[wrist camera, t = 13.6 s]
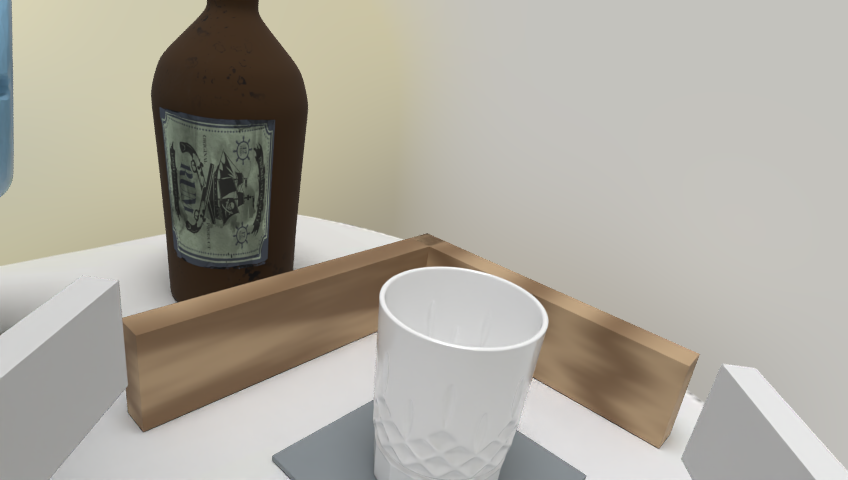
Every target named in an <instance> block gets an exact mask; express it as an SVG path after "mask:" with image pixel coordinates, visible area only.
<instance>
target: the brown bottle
mask: <svg viewBox="0 0 848 480" xmlns="http://www.w3.org/2000/svg"><path fill="white" fill-rule="evenodd" d="M258 2H259V0H207V6H206V8H205V10H204V11H203V13H202V14H201V15H200V16H199V17H198V18H197V19H196V21H194V22H193V24H191V25H190V26H189V27H188V28H187V29H186V30H185V31H184V32H183V33H182V34H181V35H180V36H179V37H178V38H177V39H176V40H175V41H174V42H173V43H172V44H171V45H170V46H169V47H168V48H167V50H166V51H165V52H164V53H163V55H162V56H161V58H160V60H159V62H158V65H157V68H156V71H155V74H154V78H153V83H152V90H151V98H152V110H153V118H154V127H155V135H156V144H157V152H158V161H159V170H160V179H161V189H162V199H163V208H164V217H165V228H166V239H167V251H168V263H169V276H170V287H171V292H172V295H173V297H174V298H175V299H176V300H177V301H178V302H182V301H185V300H189V299H192V298H196V297H200V296H203V295H207V294H210V293H214V292H218V291H221V290H225V289H228V288H232V287H236V286H239V285H243V284H247V283H250V282H254V281H257V280H261V279H265V278H268V277H272V276H275V275H279V274H283V273H286V272H290V271H293V262H294V249H295V235H296V224H297V213H298V203H299V192H300V181H301V171H302V162H303V152H304V143H305V134H306V124H307V114H308V102H307V95H306V90H305V85H304V82H303V78H302V75H301V73H300V71H299V69H298V67H297V66H296V64H295V63H294V61H293V60H292V59H291V57H290V56H289V55H288V53H287V52H286V51H285V50H284V48H283V47H282V46H281V44H280V43H279V42H278V40H277V39H276V38H275V37H274V35H273V34H272V33H271V31H270V30H269V29H268V27H267V26H266V25H265V23H264V22H263V20H262V19H261V17H260V15H259V12H258Z"/></svg>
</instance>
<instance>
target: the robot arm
mask: <svg viewBox="0 0 848 480" xmlns="http://www.w3.org/2000/svg"><path fill="white" fill-rule="evenodd" d="M13 144H14V142H13V59H12V2H11V0H0V197H1V196H2V195H3V194H4V193H5V192H6V191H7V190H8V188H9V187H10V185H11V182H12V179H13V155H14V151H13V150H14V149H13ZM127 386H128V380H127V369H126V357H125V345H124V334H123V322H122V311H121V299H120V288H119V280H113V279H105V278H98V277H91V276H84V275H82V276H81V277H79V278H78V279H77V280H75V281H74V282H73V283H71V284H70V285H68V286H67V287H66V288H64V289H63V290H62V291H60V292H59V293H57V294H56V295H55V296H53V297H52V298H51V299H49V300H48V301H47V302H45V303H44V304H42V305H41V306H40V307H38V308H37V309H36V310H34V311H33V312H31V313H30V314H29V315H27V316H26V317H25V318H23V319H22V320H20V321H19V322H18V323H16V324H15V325H14V326H12V327H11V328H10V329H8V330H7V331H5V332H4V333H3V334H1V335H0V480H49V479H50V478H51V477H52V475H53V474H54V473H55V472H56V471H57V469H58V468H59V467H60V466H61V465H62V463H63V462H64V461H65V460H66V459H67V457H68V456H69V455H70V454H71V453H72V452H73V450H74V449H75V448H76V447H77V446H78V444H79V443H80V442H81V441H82V440H83V438H84V437H85V436H86V435H87V434H88V432H89V431H90V430H91V429H92V428H93V427H94V425H95V424H96V423H97V422H98V421H99V419H100V418H101V417H102V416H103V415H104V413H105V412H106V411H107V410H108V409H109V407H110V406H111V405H112V404H113V403H114V402H115V400H116V399H117V398H118V397H119V396H120V394H121V393H122V392H123V391H124V390H125V388H126V387H127ZM681 460H682V461H683V463H684V465H685V467H686V469H687V471H688V472H689V474H690V476H691V478H692V480H848V471H847V470H846V469H845V468H844V466H843V465H842V464H841V463H840V462H839V461H838V460H837V458H835V456H834V455H833V454H832V453H831V452H830V451H829V450H828V448H827V447H826V446H825V445H824V444H823V443H822V442H821V441H820V440H819V438H818V437H817V436H816V435H815V434H814V433H813V432H812V430H811V429H810V428H809V427H808V426H807V425H806V424H805V423H804V422H803V420H802V419H801V418H800V417H799V416H798V415H797V414H796V413H795V412H794V410H793V409H792V408H791V407H790V406H789V405H788V404H787V402H786V401H785V400H784V399H783V398H782V397H781V396H780V395H779V394H778V393H777V391H776V390H775V389H774V388H773V387H772V386H771V385H770V383H768V381H767V380H766V379H765V378H764V377H763V376H762V375H761V373H760V372H759V371H758V370H757V369H756V368H750V367H743V366H736V365H728V364H722V365H721V367H720V369H719V372H718V374H717V376H716V379H715V381H714V383H713V386H712V388H711V391H710V393H709V395H708V397H707V400H706V402H705V404H704V407H703V409H702V411H701V413H700V416H699V418H698V420H697V423H696V425H695V427H694V430H693V432H692V434H691V437H690V439H689V441H688V444H687V446H686V448H685V451H684V453H683V455H682V458H681Z"/></svg>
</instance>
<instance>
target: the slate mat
mask: <svg viewBox="0 0 848 480" xmlns="http://www.w3.org/2000/svg"><path fill="white" fill-rule="evenodd" d="M373 412H374V400H372V401H370V402H369V403H367V404H365V405H363V406H361V407H360V408H358V409H356V410H354V411H352V412H350V413H349V414H347V415H345V416H343V417H341V418H340V419H338V420H336V421H334V422H332V423H331V424H329V425H327V426H325V427H323V428H322V429H320V430H318V431H316V432H314V433H313V434H311V435H309V436H307V437H305V438H304V439H302V440H300V441H298V442H296V443H294V444H293V445H291V446H289V447H287V448H285V449H284V450H282V451H280V452H278V453H276V454H275V455H273V456H272V460H273V461H274V462H275V463H276V464H277V465H278V466H279V467H280V469H281V470H282V471H283V472H284V473H285V474H286V475H287V476H288V477H289V478H290V479H291V480H377V479H376V477H375V475H374V456H373V449H374V435H375V427H374V424H373ZM585 478H586V475H585V474H583V473H582V472H580V471H579V470H577V469H576V468H574V467H573V466H571V465H570V464H568V463H566V462H565V461H563V460H562V459H560V458H559V457H557V456H556V455H554V454H553V453H551V452H550V451H548V450H546V449H545V448H543V447H542V446H540V445H539V444H537V443H536V442H534V441H533V440H531V439H529V438H528V437H526V436H525V435H523V434H522V433H520V432H519V431H517V430H516V432H515V435H514V437H513V441H512V445H511V448H510V450H509V451H508V452H507V454H506V457H505V460H504V462H503V464H502V468H501V471H500V475H499V478H498V480H585Z"/></svg>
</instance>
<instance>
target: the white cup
mask: <svg viewBox="0 0 848 480" xmlns="http://www.w3.org/2000/svg"><path fill="white" fill-rule="evenodd" d="M547 328H548V315H547V312H546V310H545V309H544V307H543V306H542V304H541V303H540V302H539V301H538V300H537V299H536V298H535V297H534V296H533V295H532V294H530V293H529V292H528V291H526V290H525V289H523V288H521V287H520V286H518V285H516V284H514V283H512V282H510V281H507V280H505V279H503V278H500V277H497V276H494V275H491V274H488V273H484V272H480V271H476V270H471V269H465V268H457V267H423V268H417V269H412V270H408V271H405V272H402V273H399V274H397V275H395V276H393V277H392V278H390V279H389V280H388V281H387V282H386V283H385V284H384V285H383V286H382V288H381V290H380V294H379V311H378V330H377V346H376V363H375V380H374V398H373V399H374V412H373V424H374V427H375V435H374V449H373V456H374V475H375V477H376V479H377V480H498V478H499V475H500V471H501V468H502V464H503V462H504V460H505V457H506V454H507V452H508V451H509V450H510V448H511V445H512V441H513V437H514V435H515V432H516V430H517V427H518V425H519V421H520V417H521V414H522V411H523V407H524V404H525V400H526V397H527V394H528V391H529V388H530V385H531V381H532V378H533V374H534V371H535V368H536V364H537V361H538V357H539V354H540V351H541V347H542V344H543V341H544V337H545V334H546V331H547Z"/></svg>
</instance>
